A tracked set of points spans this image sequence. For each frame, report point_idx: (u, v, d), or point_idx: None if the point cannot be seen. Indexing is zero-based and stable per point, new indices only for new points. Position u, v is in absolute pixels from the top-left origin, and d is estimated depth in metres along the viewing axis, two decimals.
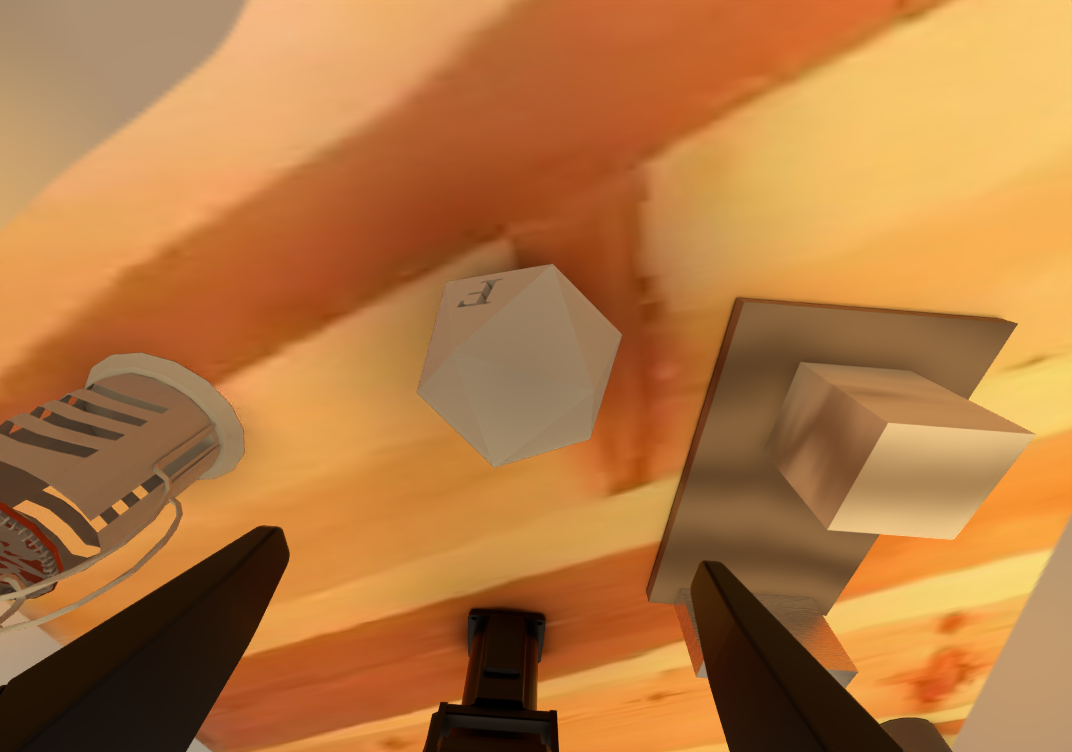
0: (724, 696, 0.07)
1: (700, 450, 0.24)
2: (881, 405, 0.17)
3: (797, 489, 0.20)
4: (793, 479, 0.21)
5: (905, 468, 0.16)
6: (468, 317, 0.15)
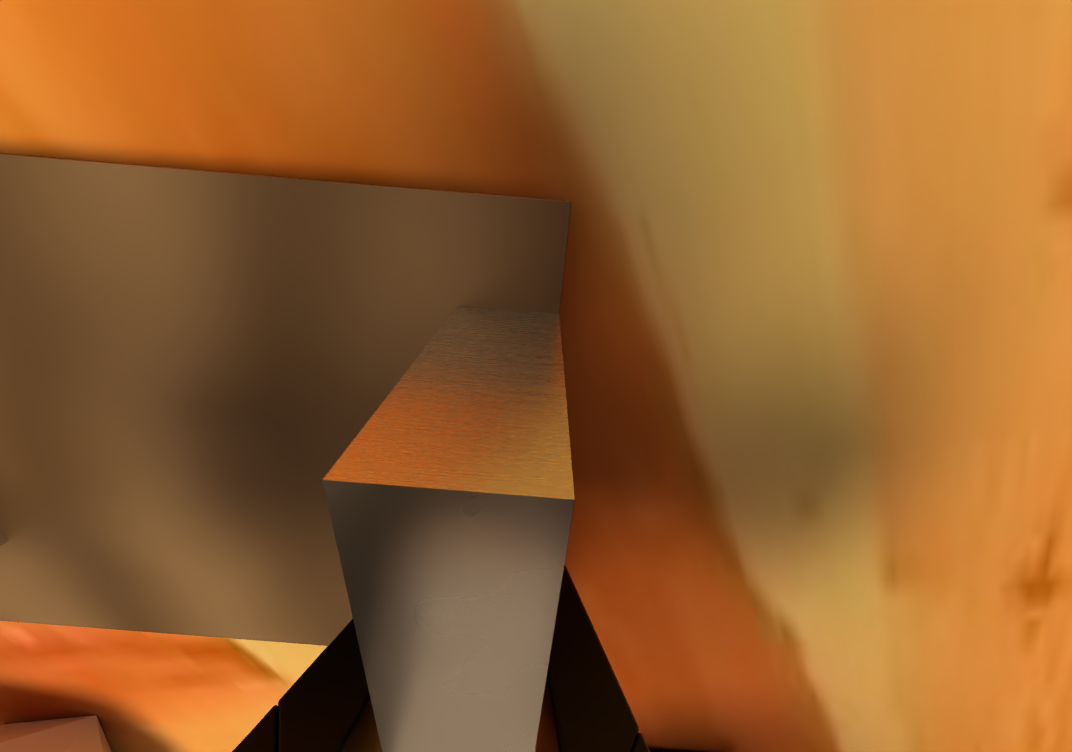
0: None
1: (76, 622, 0.13)
2: None
3: None
4: None
5: None
6: None
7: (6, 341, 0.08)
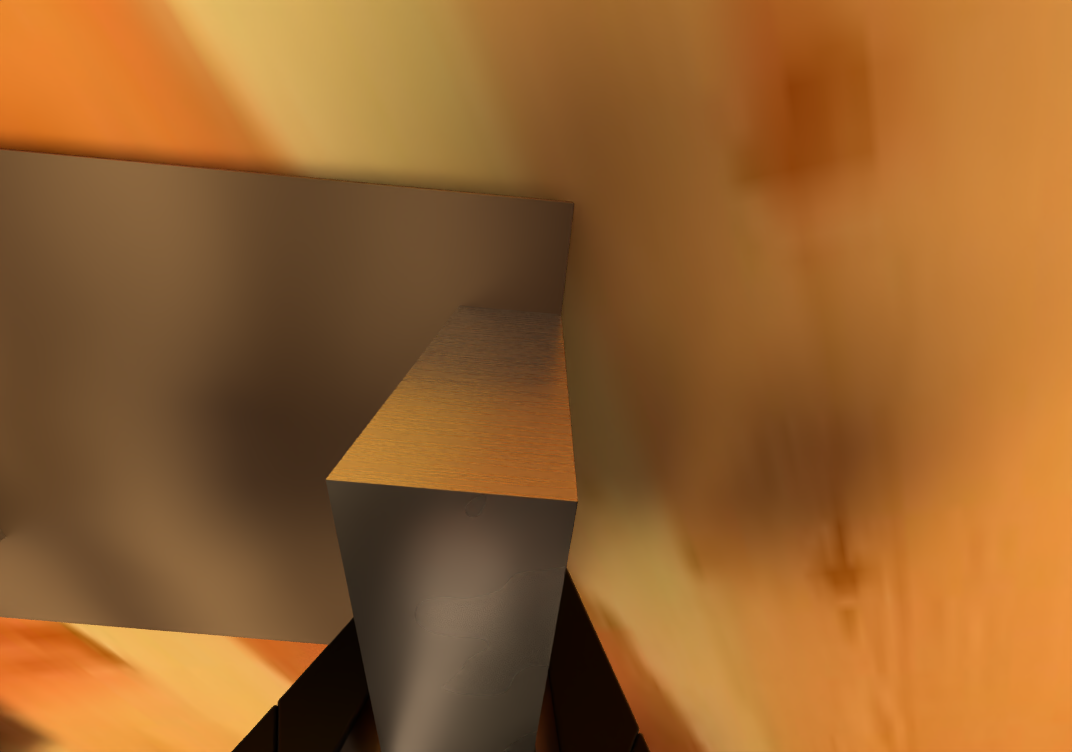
0: None
1: (74, 619, 0.13)
2: None
3: None
4: None
5: None
6: None
7: (7, 337, 0.08)
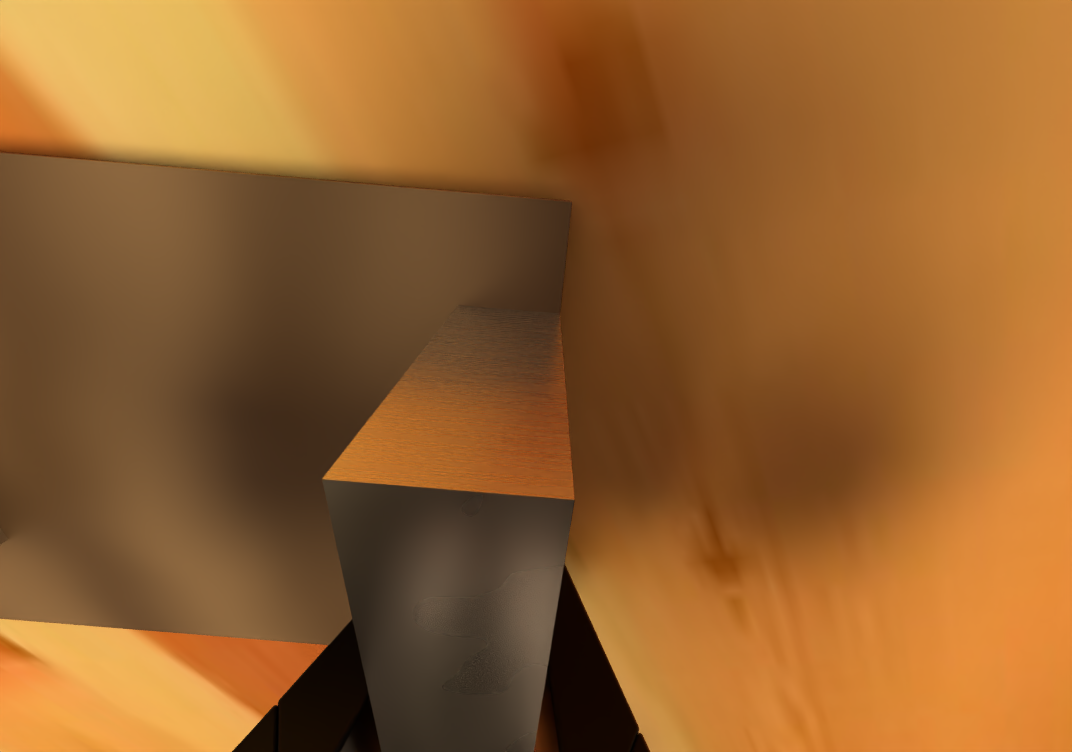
0: None
1: (77, 620, 0.13)
2: None
3: None
4: None
5: None
6: None
7: (8, 339, 0.08)
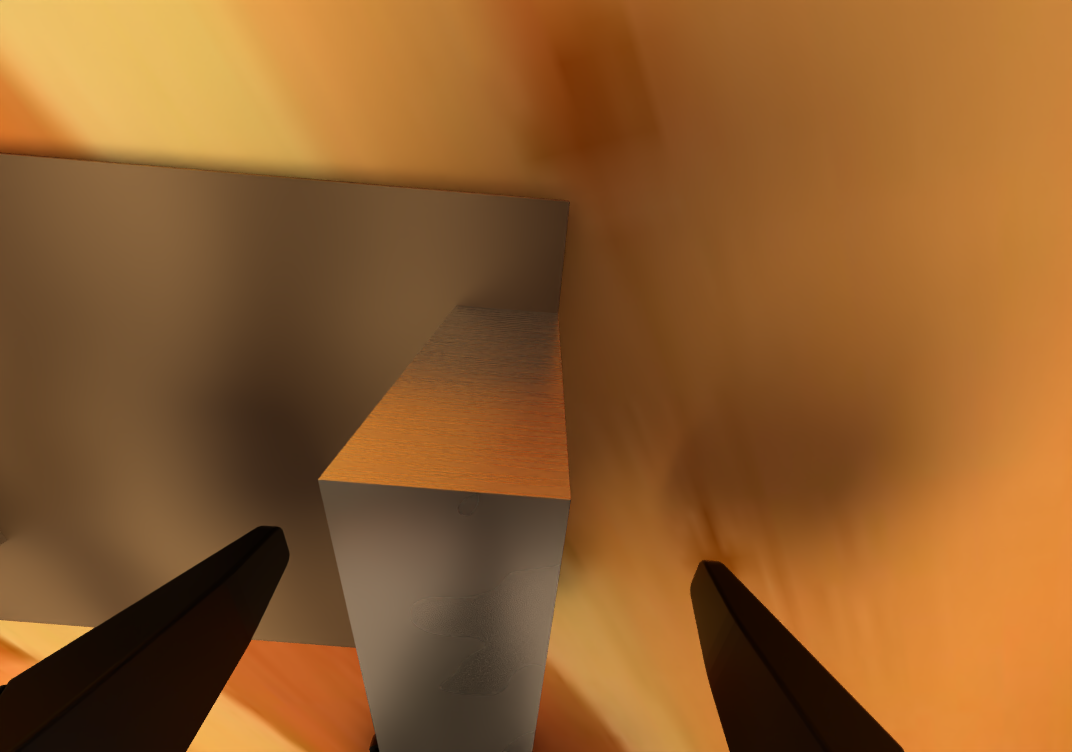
0: (724, 696, 0.07)
1: (76, 622, 0.13)
2: None
3: None
4: None
5: None
6: None
7: (6, 340, 0.08)
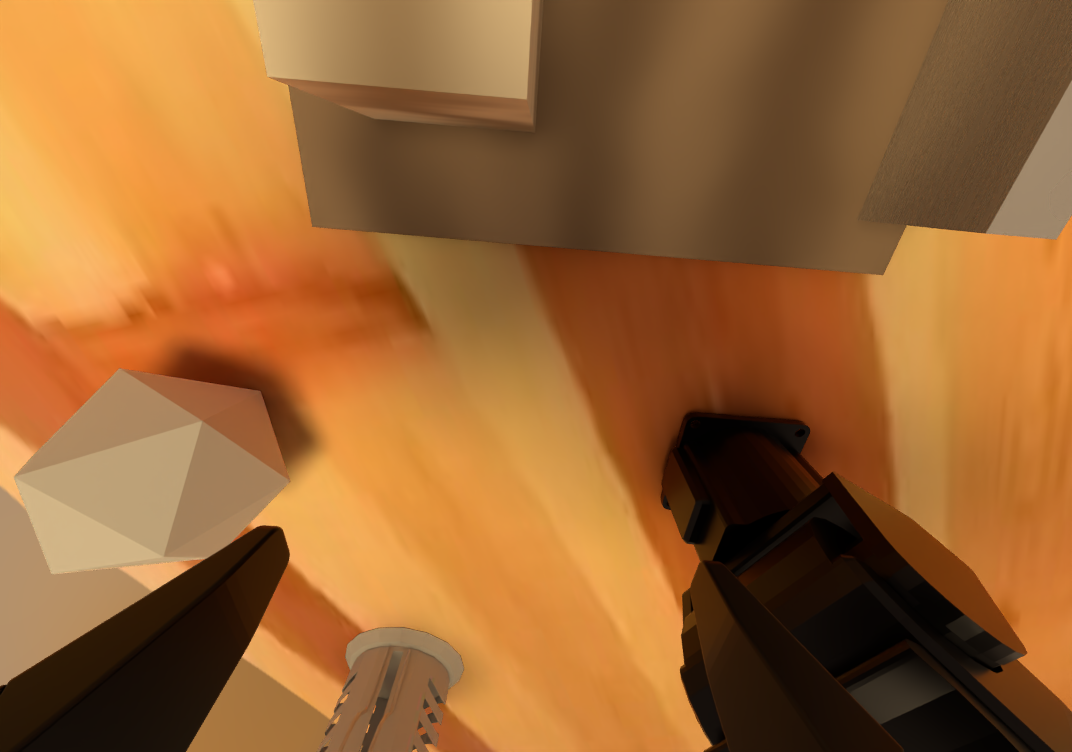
0: (724, 696, 0.07)
1: (534, 239, 0.16)
2: None
3: (524, 116, 0.11)
4: (518, 119, 0.12)
5: None
6: None
7: None
